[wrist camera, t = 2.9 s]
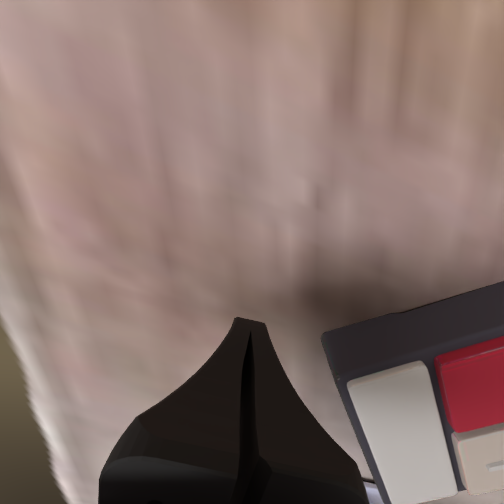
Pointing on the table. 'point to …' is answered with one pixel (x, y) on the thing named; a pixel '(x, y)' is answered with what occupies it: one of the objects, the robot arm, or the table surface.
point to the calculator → (427, 395)
